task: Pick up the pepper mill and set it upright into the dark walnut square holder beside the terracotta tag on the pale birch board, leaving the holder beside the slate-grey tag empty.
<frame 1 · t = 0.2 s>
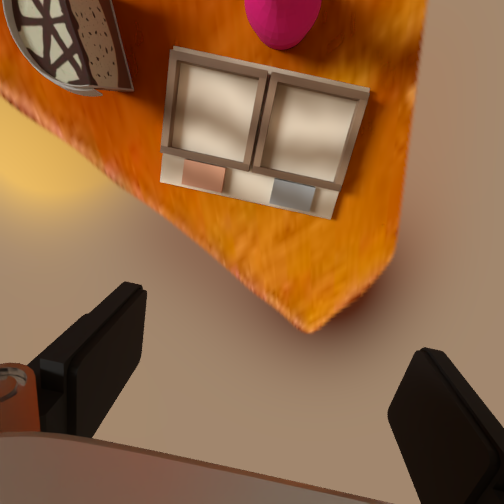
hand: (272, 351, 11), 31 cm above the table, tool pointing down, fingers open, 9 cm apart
holder board: (258, 138, 37), on the table
pepper mill: (282, 17, 33), on the table
food container: (99, 52, 36), on the table
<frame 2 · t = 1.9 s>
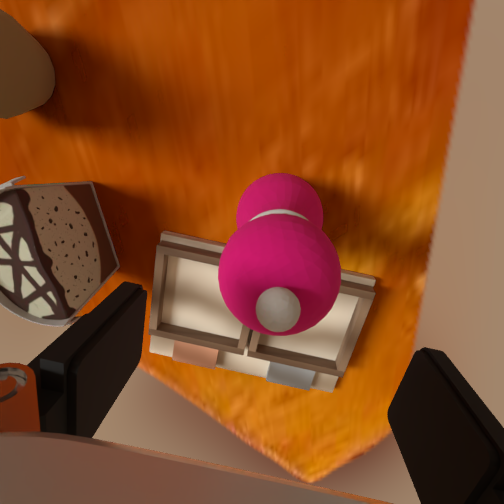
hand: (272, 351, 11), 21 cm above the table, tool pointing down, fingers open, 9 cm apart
holder board: (253, 314, 35), on the table
pepper mill: (279, 205, 30), on the table
squeeze bottle: (27, 72, 28), on the table
food container: (81, 229, 33), on the table
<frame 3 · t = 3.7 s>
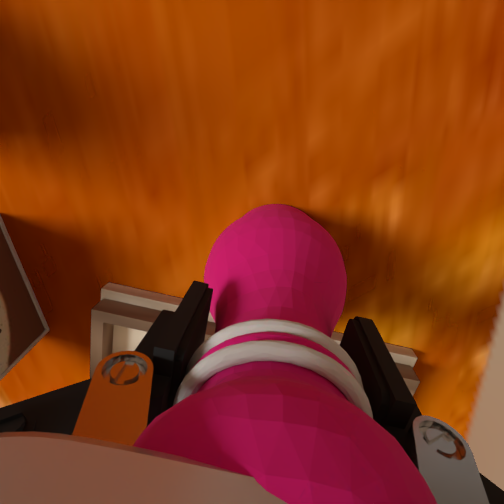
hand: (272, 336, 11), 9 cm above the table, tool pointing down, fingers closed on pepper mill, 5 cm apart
holder board: (240, 395, 25), on the table
pepper mill: (275, 249, 20), on the table, touching gripper
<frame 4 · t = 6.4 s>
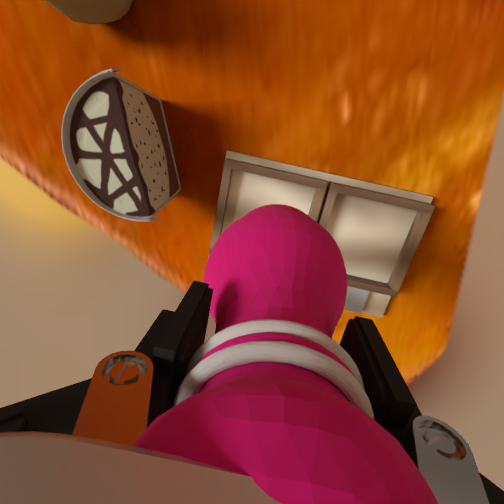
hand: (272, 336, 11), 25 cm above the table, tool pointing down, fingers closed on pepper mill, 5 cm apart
holder board: (309, 237, 36), on the table
pepper mill: (275, 250, 20), point 15 cm above the table, touching gripper
food container: (146, 150, 34), on the table
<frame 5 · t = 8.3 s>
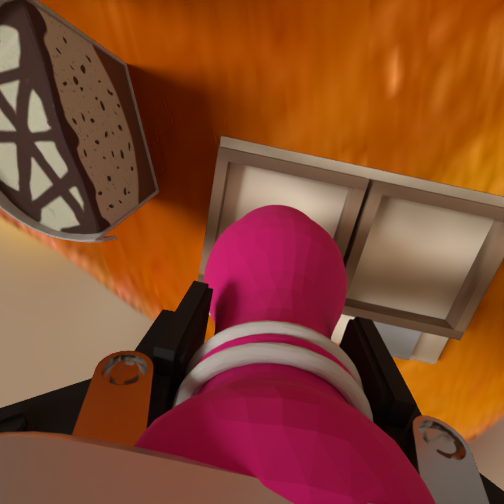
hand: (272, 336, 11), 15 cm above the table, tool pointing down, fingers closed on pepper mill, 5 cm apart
holder board: (336, 257, 26), on the table
pepper mill: (275, 250, 20), point 5 cm above the table, touching gripper
food container: (108, 138, 24), on the table
when the fingers open (11 cm above the table, at t = 9.5 s): pepper mill stays where it is, resting on holder board.
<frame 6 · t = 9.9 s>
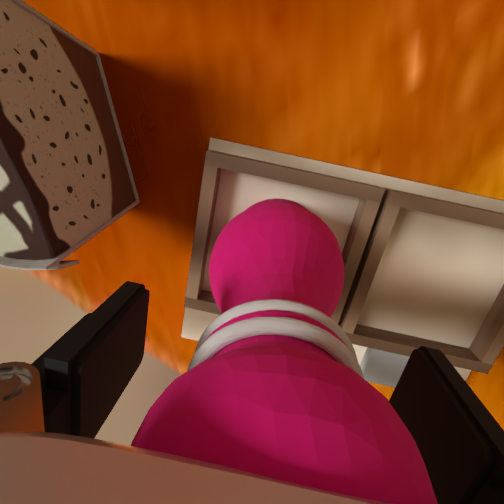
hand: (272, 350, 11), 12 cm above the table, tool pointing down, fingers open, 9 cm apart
holder board: (344, 276, 23), on the table
pepper mill: (276, 242, 21), point 1 cm above the table, touching holder board
food container: (80, 140, 21), on the table
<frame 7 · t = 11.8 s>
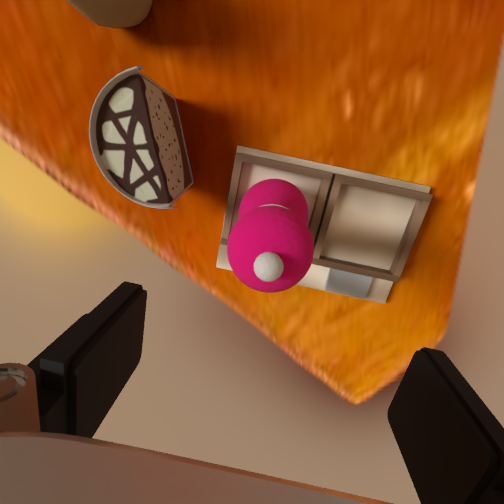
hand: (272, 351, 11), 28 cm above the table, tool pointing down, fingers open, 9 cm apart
holder board: (314, 227, 38), on the table
pepper mill: (274, 206, 37), point 1 cm above the table, touching holder board
food container: (160, 146, 36), on the table
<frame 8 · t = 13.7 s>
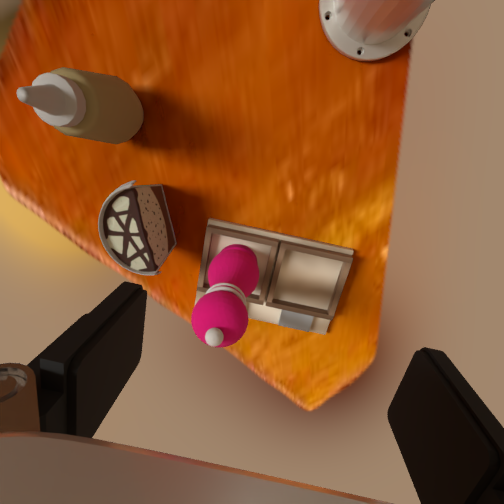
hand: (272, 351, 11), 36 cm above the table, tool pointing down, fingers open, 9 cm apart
holder board: (270, 277, 49), on the table
pepper mill: (237, 262, 48), point 1 cm above the table, touching holder board
squeeze bottle: (124, 113, 43), on the table
food container: (151, 217, 48), on the table
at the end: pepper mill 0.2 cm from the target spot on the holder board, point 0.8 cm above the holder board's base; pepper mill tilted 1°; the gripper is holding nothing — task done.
